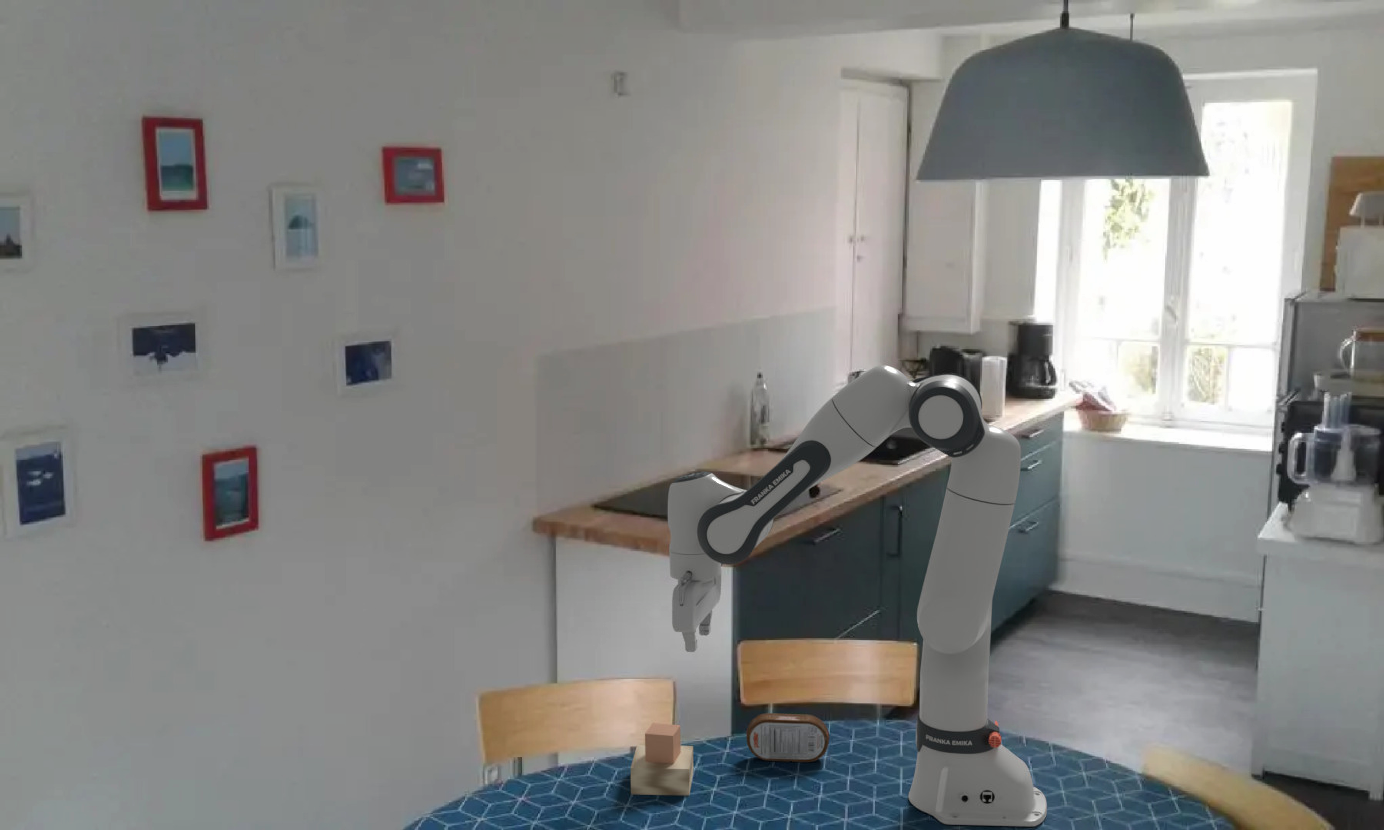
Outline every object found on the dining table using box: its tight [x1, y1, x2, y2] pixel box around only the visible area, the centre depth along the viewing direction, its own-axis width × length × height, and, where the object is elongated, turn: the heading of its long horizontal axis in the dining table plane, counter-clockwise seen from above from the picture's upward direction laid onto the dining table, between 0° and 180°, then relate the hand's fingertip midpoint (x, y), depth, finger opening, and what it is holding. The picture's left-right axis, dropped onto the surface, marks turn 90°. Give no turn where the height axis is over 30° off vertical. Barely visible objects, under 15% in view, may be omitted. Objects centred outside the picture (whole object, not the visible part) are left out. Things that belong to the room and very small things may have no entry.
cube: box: [644, 722, 682, 764], centre depth 220 cm, size 5×5×5 cm
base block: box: [630, 744, 694, 796], centre depth 221 cm, size 10×10×5 cm
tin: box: [745, 712, 830, 763], centre depth 229 cm, size 15×3×8 cm, turn 84°
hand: (698, 642), depth 221 cm, fingers open, 8 cm apart
